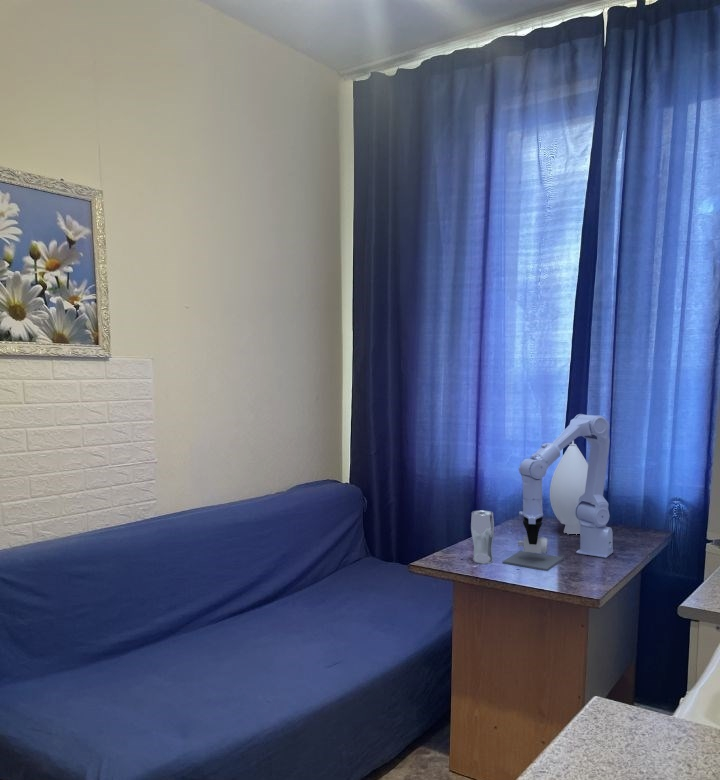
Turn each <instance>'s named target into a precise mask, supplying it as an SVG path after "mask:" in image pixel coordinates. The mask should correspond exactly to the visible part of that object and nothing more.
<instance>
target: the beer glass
mask: <svg viewBox="0 0 720 780" xmlns="http://www.w3.org/2000/svg"><path fill="white" fill-rule="evenodd" d="M470 519H471V520H470V521H471V522H470V531H471V532H470V533H471V538H472V542H473V543H472V544H473V558H472V562H474V563H476V564H482V565H486V564H487V565H488V564H491V563H494V562H493V561H494V557H493V553H492V548H493V547H492V546H493V541H494V533H495V521H494V520H495V519H494V512H493V511H489V510H483V509H482V510H480V509H479V510H473V511H472V512H471V518H470Z"/></svg>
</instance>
